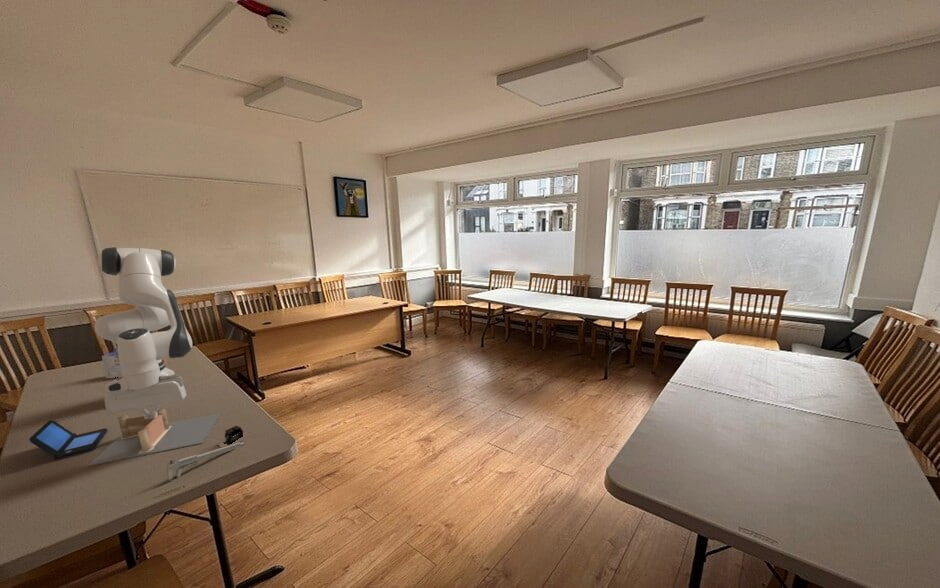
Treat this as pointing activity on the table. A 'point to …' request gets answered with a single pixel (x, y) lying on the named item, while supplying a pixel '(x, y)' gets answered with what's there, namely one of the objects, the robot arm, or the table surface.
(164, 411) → the fixed fence
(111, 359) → the ink cartridge box
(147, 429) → the fence panel
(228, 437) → the black angular piece
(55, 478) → the table surface
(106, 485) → the table surface
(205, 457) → the caliper
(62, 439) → the handheld game console
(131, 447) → the board
